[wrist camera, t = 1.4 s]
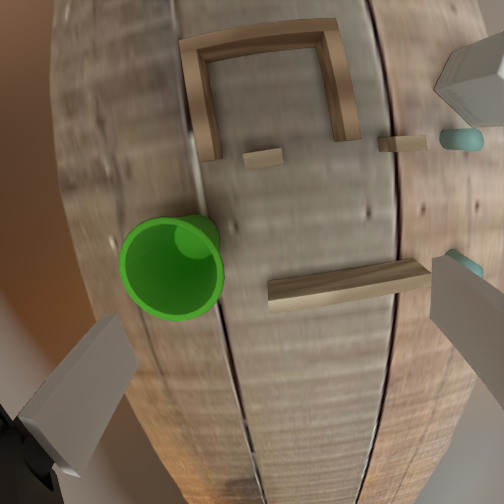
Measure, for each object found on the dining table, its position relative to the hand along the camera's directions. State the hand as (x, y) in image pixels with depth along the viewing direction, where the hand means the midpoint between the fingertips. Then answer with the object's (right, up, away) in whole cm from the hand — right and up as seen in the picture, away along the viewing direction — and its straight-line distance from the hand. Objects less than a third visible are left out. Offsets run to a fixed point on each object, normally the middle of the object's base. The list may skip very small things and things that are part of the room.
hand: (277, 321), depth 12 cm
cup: (-7, +4, +23) cm, 25 cm away
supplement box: (+25, +23, +16) cm, 37 cm away
